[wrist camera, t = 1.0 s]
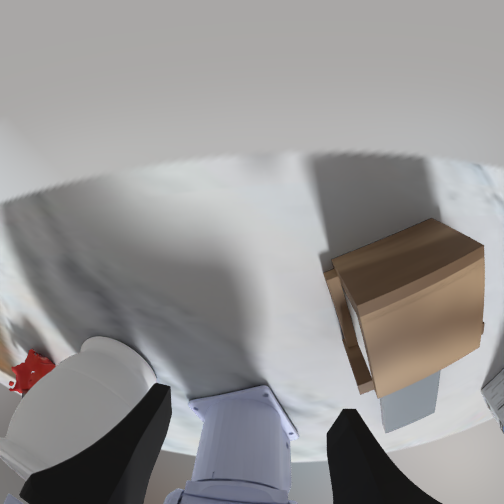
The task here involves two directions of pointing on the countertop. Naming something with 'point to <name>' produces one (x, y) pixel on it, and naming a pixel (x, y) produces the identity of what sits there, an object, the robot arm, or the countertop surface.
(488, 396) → the light bulb box
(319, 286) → the countertop surface
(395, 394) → the slate tile
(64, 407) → the jar
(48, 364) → the figurine
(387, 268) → the shelf
